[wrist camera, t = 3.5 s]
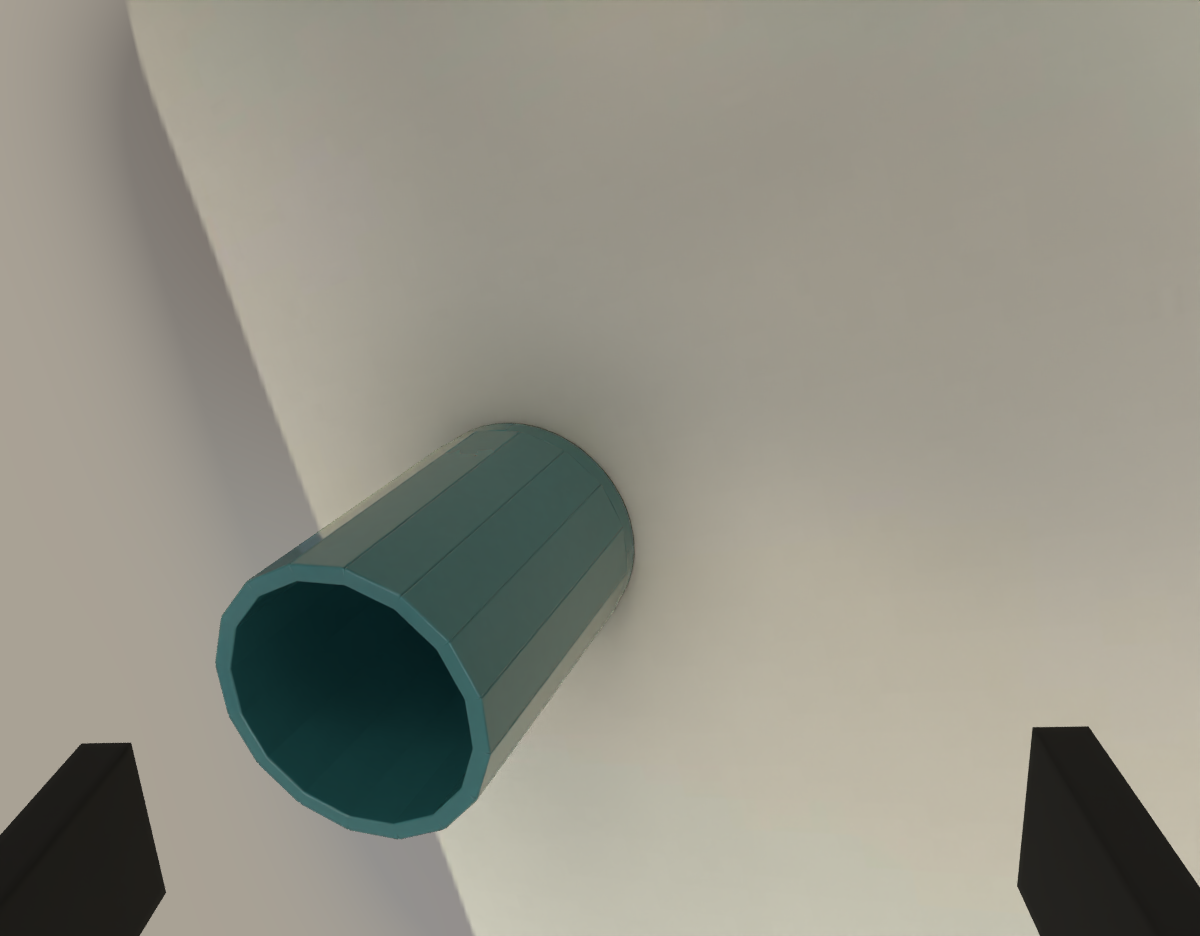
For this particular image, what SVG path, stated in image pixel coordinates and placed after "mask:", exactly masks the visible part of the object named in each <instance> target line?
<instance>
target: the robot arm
mask: <svg viewBox="0 0 1200 936" xmlns="http://www.w3.org/2000/svg"><path fill="white" fill-rule="evenodd" d="M1017 887H1018V889H1019V891H1020V893H1021V895H1022V897H1023V900H1024V902H1025V904H1026V906H1027V908H1028V910H1029V913H1030V915H1031V917H1032V919H1033V921H1034V923H1035V926H1036V928H1037V930H1038V932H1039V934H1040V936H1200V887H1199V886H1198V884H1197V883H1196V881H1195V880H1194V878H1193V877H1192V876H1191V874H1190V873H1189V871H1188V870H1187V868H1186V867H1185V865H1184V864H1183V863H1182V861H1181V860H1180V858H1179V857H1178V855H1177V854H1176V852H1175V851H1174V849H1173V848H1172V847H1171V845H1170V844H1169V842H1168V841H1167V839H1166V838H1165V836H1164V835H1163V834H1162V832H1161V831H1160V829H1159V828H1158V826H1157V825H1156V823H1155V822H1154V821H1153V819H1152V818H1151V816H1150V815H1149V813H1148V812H1147V810H1146V809H1145V808H1144V806H1143V805H1142V803H1141V802H1140V800H1139V799H1138V797H1137V796H1136V795H1135V793H1134V792H1133V790H1132V789H1131V787H1130V786H1129V784H1128V783H1127V782H1126V780H1125V779H1124V777H1123V776H1122V774H1121V773H1120V771H1119V770H1118V769H1117V767H1116V766H1115V764H1114V763H1113V761H1112V760H1111V758H1110V757H1109V756H1108V754H1107V753H1106V751H1105V750H1104V748H1103V747H1102V745H1101V744H1100V743H1099V741H1098V740H1097V738H1096V737H1095V735H1094V734H1093V732H1092V731H1091V729H1090V728H1089V727H1033V730H1032V740H1031V750H1030V760H1029V771H1028V781H1027V791H1026V801H1025V811H1024V822H1023V832H1022V842H1021V852H1020V863H1019V873H1018V883H1017ZM165 893H166V891H165V886H164V882H163V878H162V874H161V869H160V865H159V860H158V856H157V852H156V848H155V843H154V839H153V835H152V830H151V826H150V822H149V817H148V813H147V809H146V805H145V800H144V796H143V792H142V787H141V783H140V779H139V775H138V770H137V766H136V762H135V758H134V753H133V750H132V744H131V743H89V744H81V745H80V746H79V747H78V748H77V749H76V750H75V752H74V753H73V754H72V755H71V756H70V757H69V758H68V759H67V760H66V762H65V763H64V764H63V765H62V766H61V767H60V768H59V769H58V771H57V772H56V773H55V774H54V775H53V776H52V777H51V779H50V780H49V781H48V782H47V783H46V784H45V785H44V786H43V787H42V789H41V790H40V791H39V792H38V793H37V795H35V797H34V798H33V799H32V800H31V801H30V802H29V803H28V805H27V806H26V807H25V808H24V809H23V810H22V811H21V812H20V814H19V815H18V816H17V817H16V818H15V819H14V820H13V821H12V822H11V824H10V825H9V826H8V827H7V828H6V829H5V830H4V831H3V833H2V834H1V835H0V936H140V934H141V932H142V931H143V929H144V927H145V926H146V924H147V922H148V921H149V919H150V918H151V916H152V914H153V913H154V911H155V910H156V908H157V906H158V905H159V903H160V901H161V900H162V898H163V897H164V895H165Z"/></svg>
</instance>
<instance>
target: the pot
mask: <svg viewBox="0 0 1200 936" xmlns="http://www.w3.org/2000/svg"><path fill="white" fill-rule="evenodd" d="M633 558H634V540H633V534H632V528H631V523H630V520H629V516H628V513H627V510H626V508H625V505H624V503H623V501H622V498H621V496H620V495H619V493H618V491H617V489H616V488H615V486H614V484H613V483H612V481H611V480H610V479H609V477H608V476H607V475H606V473H605V472H604V471H603V470H602V468H601V467H600V466H599V465H598V464H597V463H596V462H595V461H594V460H593V459H592V458H591V457H590V456H588V455H587V454H586V453H585V452H584V451H582V450H581V449H580V448H579V447H577V446H576V445H574V444H573V443H571V442H569V441H568V440H566V439H564V438H562V437H560V436H558V435H556V434H554V433H552V432H549V431H547V430H544V429H541V428H538V427H534V426H529V425H525V424H514V423H501V424H492V425H487V426H482V427H479V428H476V429H474V430H471V431H469V432H467V433H465V434H463V435H461V436H460V437H458V438H456V439H455V440H454V441H452V442H450V443H448V444H446V445H443V446H441V447H440V448H439V449H437V450H436V451H434V452H433V453H431V454H430V455H428V456H427V457H426V458H424V459H423V460H421V461H420V462H418V463H417V464H415V465H414V466H413V467H411V468H410V469H408V470H407V471H405V472H404V473H402V474H401V475H400V476H398V477H397V478H395V479H394V480H392V481H391V482H389V483H388V484H387V485H385V486H384V487H382V488H381V489H379V490H378V491H376V492H375V493H374V494H372V495H371V496H369V497H368V498H366V499H365V500H363V501H362V502H361V503H359V504H358V505H356V506H355V507H353V508H352V509H350V510H349V511H348V512H346V513H345V514H343V515H342V516H340V517H339V518H337V519H336V520H335V521H333V522H332V523H330V524H329V525H327V526H326V527H324V528H323V529H322V530H320V531H319V532H317V533H316V534H314V535H313V536H312V537H310V538H309V539H307V540H306V541H304V542H303V543H301V544H300V545H299V546H297V547H296V548H294V549H293V550H291V551H290V552H288V553H287V554H285V555H284V556H283V557H281V558H280V559H278V560H277V561H275V562H274V563H273V564H271V565H270V566H268V567H267V568H265V569H264V570H262V571H261V572H260V573H258V574H257V575H255V576H254V577H252V578H251V579H249V580H248V581H247V582H246V583H245V584H244V586H243V587H242V589H241V590H240V591H239V593H238V594H237V595H236V597H235V598H234V600H233V601H232V602H231V604H230V605H229V607H228V608H227V609H226V611H225V612H224V614H223V615H222V618H221V623H220V630H219V638H218V646H217V653H216V662H215V663H216V670H217V673H218V677H219V681H220V685H221V689H222V693H223V697H224V701H225V704H226V708H227V712H228V714H229V718H230V719H231V721H232V722H233V724H234V726H235V727H236V729H237V731H238V732H239V734H240V735H241V737H242V739H243V740H244V742H245V744H246V745H247V747H248V748H249V750H250V752H251V753H252V755H253V757H254V758H255V760H256V762H257V763H259V765H260V766H261V767H262V768H263V769H264V770H265V771H266V772H267V773H268V774H269V775H270V776H271V777H272V778H274V779H275V780H276V781H277V782H278V783H279V784H280V785H281V786H282V787H283V788H284V789H285V790H286V791H287V792H288V793H289V794H290V795H291V796H292V797H293V798H294V799H295V800H296V801H298V802H300V803H301V804H302V805H303V806H305V807H307V808H309V809H311V810H313V811H315V812H316V813H318V814H320V815H322V816H324V817H326V818H328V819H329V820H331V821H333V822H335V823H337V824H339V825H340V826H342V827H344V828H346V829H349V830H352V831H357V832H362V833H367V834H373V835H378V836H383V837H388V838H394V839H404V838H408V837H413V836H417V835H421V834H426V833H431V832H435V831H440V830H443V829H445V828H447V827H448V826H449V825H450V824H451V823H452V822H454V821H455V820H456V819H457V818H458V817H459V816H460V815H461V814H462V813H463V812H465V811H466V810H467V809H468V808H469V807H470V806H471V805H472V804H473V803H474V802H476V801H477V799H478V798H479V797H480V795H481V794H482V792H483V791H484V790H485V788H486V787H487V786H488V784H489V783H490V781H491V780H492V779H493V777H494V776H495V774H496V773H497V772H498V770H499V769H500V768H501V766H502V765H503V763H504V762H505V761H506V759H507V758H508V757H509V755H510V754H511V752H512V751H513V750H514V748H515V747H516V745H517V744H518V743H519V741H520V740H521V739H522V737H523V736H524V734H525V733H526V732H527V730H528V729H529V728H530V726H531V725H532V723H533V722H534V721H535V719H536V718H537V716H538V715H539V714H540V712H541V711H542V710H543V708H544V707H545V705H546V704H547V703H548V701H549V700H550V699H551V697H552V696H553V694H554V693H555V692H556V690H557V689H558V687H559V686H560V685H561V683H562V682H563V681H564V679H565V678H566V676H567V675H568V674H569V672H570V671H571V670H572V668H573V667H574V665H575V664H576V663H577V661H578V660H579V658H580V657H581V656H582V654H583V653H584V652H585V650H586V649H587V647H588V646H589V645H590V643H591V642H592V641H593V639H594V638H595V636H596V635H597V634H598V632H599V631H600V629H601V628H602V627H603V625H604V624H605V623H606V621H607V620H608V618H609V617H610V616H611V614H612V613H613V611H614V610H615V608H616V605H617V603H618V601H619V600H620V598H621V596H622V595H623V593H624V591H625V589H626V587H627V584H628V582H629V579H630V575H631V571H632V567H633Z"/></svg>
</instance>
